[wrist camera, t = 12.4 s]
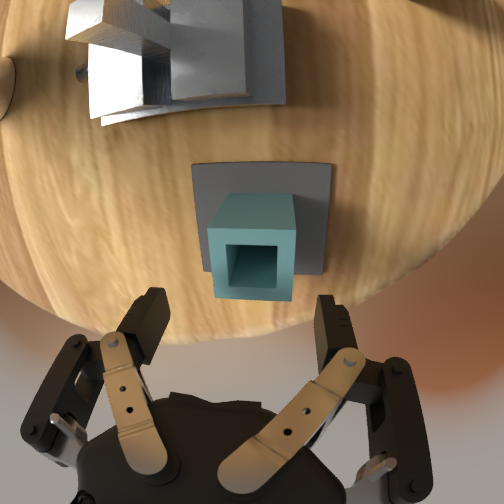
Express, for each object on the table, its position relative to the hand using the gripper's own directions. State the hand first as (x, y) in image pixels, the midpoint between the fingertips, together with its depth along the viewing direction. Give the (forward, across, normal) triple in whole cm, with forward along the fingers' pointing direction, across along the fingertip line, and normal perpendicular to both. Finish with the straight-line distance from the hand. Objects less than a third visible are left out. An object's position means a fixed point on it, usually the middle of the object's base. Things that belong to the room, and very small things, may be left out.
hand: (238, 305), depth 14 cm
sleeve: (+10, 0, 0) cm, 10 cm away
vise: (+11, +5, -14) cm, 18 cm away
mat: (+11, -1, 0) cm, 11 cm away
